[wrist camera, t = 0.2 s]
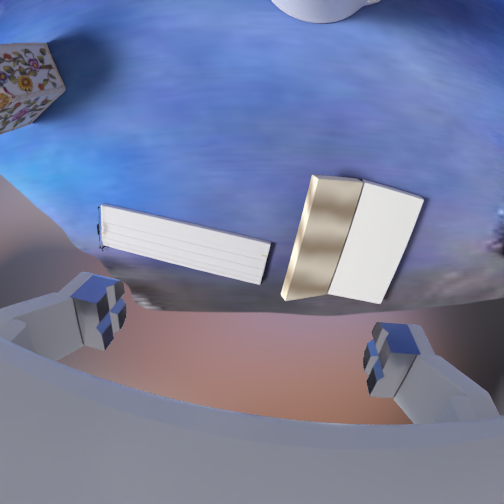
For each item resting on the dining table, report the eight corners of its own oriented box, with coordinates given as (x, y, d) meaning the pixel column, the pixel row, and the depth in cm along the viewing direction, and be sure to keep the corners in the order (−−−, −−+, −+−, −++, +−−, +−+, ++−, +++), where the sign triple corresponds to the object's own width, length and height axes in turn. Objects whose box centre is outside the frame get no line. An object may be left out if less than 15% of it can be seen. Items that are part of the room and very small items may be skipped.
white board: (362, 179, 45) (364, 182, 44) (420, 196, 45) (424, 199, 43) (326, 288, 55) (327, 293, 54) (378, 298, 55) (380, 304, 53)
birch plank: (312, 174, 41) (318, 178, 40) (356, 178, 45) (363, 182, 43) (280, 294, 51) (285, 301, 50) (321, 288, 55) (326, 294, 53)
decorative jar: (31, 125, 46) (-40, 152, 31) (12, 79, 42) (-59, 95, 26) (69, 89, 43) (-9, 105, 27) (48, 40, 38) (-28, 44, 22)
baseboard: (258, 288, 58) (271, 239, 53) (256, 297, 55) (270, 247, 50) (105, 249, 58) (104, 201, 53) (98, 256, 56) (96, 207, 51)
